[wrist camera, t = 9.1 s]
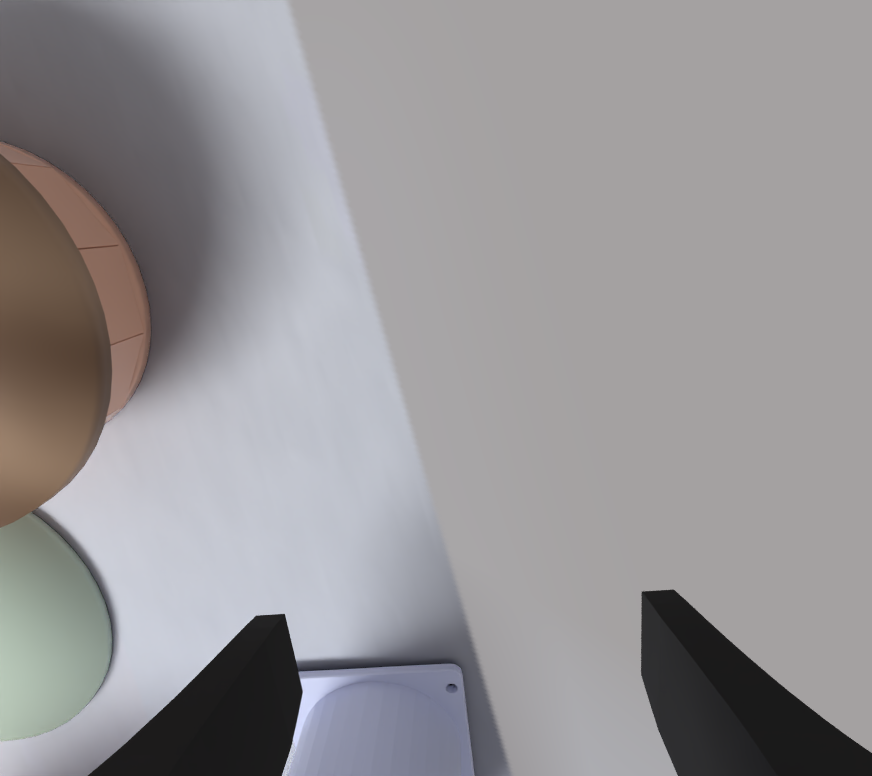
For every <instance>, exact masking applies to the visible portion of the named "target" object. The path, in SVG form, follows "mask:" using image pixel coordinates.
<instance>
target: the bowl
mask: <svg viewBox="0 0 872 776" xmlns="http://www.w3.org/2000/svg"><path fill="white" fill-rule="evenodd" d="M0 154H1V155H2V156H4V157H5V158H6V159H7V160H8V161H9V162H10V163H12V164H13V165H14V166H15V167H16V168H17V169H18V170H19V171H20V172H21V173H22V174H23V175H24V177H25V178H26V179H27V180H28V181H29V182H30V183H31V184H32V185H33V186H34V187H35V188H36V190H37V191H38V192H39V193H40V194H41V195H42V196H43V198H44V199H45V200H46V202H47V203H48V204H49V206H50V207H51V208H52V210H53V211H54V212H55V214H56V215H57V216H58V218H59V219H60V220H61V222H62V223H63V225H64V226H65V228H66V230H67V231H68V233H69V235H70V236H71V238H72V240H73V241H74V243H75V245H76V246H77V248H78V250H79V251H80V253H81V255H82V257H83V259H84V262H85V264H86V266H87V268H88V270H89V273H90V275H91V277H92V279H93V281H94V283H95V286H96V289H97V292H98V295H99V299H100V302H101V305H102V308H103V311H104V314H105V319H106V324H107V329H108V334H109V339H110V344H111V359H112V384H111V398H110V403H109V408H108V412H107V417H106V421H105V423H107V422H108V421H110V420H111V419H112V418H113V417H114V416H115V415H116V414H117V413H118V412H120V411H121V410H122V409H123V407H124V406H125V405H126V403H127V402H128V401H129V400H130V398H131V397H132V396H133V394H134V392H135V390H136V388H137V387H138V385H139V383H140V381H141V378H142V376H143V373H144V370H145V367H146V364H147V359H148V354H149V349H150V339H151V319H150V307H149V302H148V297H147V292H146V288H145V284H144V281H143V278H142V275H141V272H140V269H139V266H138V264H137V262H136V260H135V258H134V256H133V254H132V251H131V249H130V247H129V245H128V244H127V242H126V240H125V239H124V237H123V235H122V234H121V232H120V231H119V229H118V227H117V226H116V224H115V223H114V222H113V221H112V219H111V218H110V217H109V215H108V214H107V213H106V211H105V210H104V209H103V208H102V206H101V205H100V204H99V203H98V202H97V201H96V200H95V199H94V198H93V197H92V196H91V195H90V194H89V193H88V192H87V191H86V190H85V189H84V188H83V187H82V186H80V185H79V184H78V183H77V182H76V181H74V180H73V179H72V178H71V177H70V176H68V175H67V174H66V173H64V172H63V171H61V170H60V169H58V168H57V167H55V166H54V165H52V164H51V163H49V162H48V161H46V160H44V159H42V158H40V157H38V156H36V155H34V154H32V153H30V152H28V151H27V150H24V149H21V148H18V147H16V146H13V145H10V144H8V143H5V142H1V141H0Z"/></svg>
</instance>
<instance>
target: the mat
mask: <svg viewBox="0 0 872 776" xmlns="http://www.w3.org/2000/svg"><path fill="white" fill-rule="evenodd" d="M111 655H112V631H111V623H110V618H109V614H108V611H107V607H106V604H105V601H104V599H103V596H102V594H101V592H100V590H99V587H98V585H97V583H96V582H95V580H94V578H93V577H92V575H91V573H90V571H89V570H88V568H87V567H86V565H85V564H84V563H83V561H82V560H81V559H80V557H79V556H78V555H77V554H76V552H75V551H74V550H73V549H72V548H71V547H70V546H69V544H68V543H67V542H66V541H65V540H64V539H63V538H62V537H61V536H60V535H59V534H58V533H57V532H56V531H54V530H53V529H52V528H51V527H50V526H49V525H48V524H46V523H45V522H44V521H43V520H42V519H40V518H39V517H38V516H36V515H35V514H33V513H32V512H30V513H29V514H27V515H25V516H24V517H22V518H20V519H18V520H17V521H15V522H13V523H11V524H8V525H6V526H4V527H1V528H0V741H9V740H19V739H24V738H29V737H33V736H38V735H40V734H43V733H46V732H49V731H51V730H54V729H56V728H57V727H59V726H61V725H63V724H65V723H67V722H68V721H69V720H71V719H72V718H73V717H75V716H76V715H77V714H79V713H80V712H81V710H82V709H83V708H84V707H85V706H86V705H87V704H88V703H89V702H90V701H91V699H92V698H93V697H94V695H95V694H96V692H97V691H98V689H99V688H100V686H101V684H102V683H103V681H104V678H105V676H106V673H107V671H108V669H109V664H110V659H111Z"/></svg>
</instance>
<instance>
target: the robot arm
mask: <svg viewBox="0 0 872 776" xmlns="http://www.w3.org/2000/svg"><path fill="white" fill-rule="evenodd" d="M641 636H642V637H641V639H642V640H641V642H642V643H641V644H642V645H641V646H642V647H641V675H642V678H643V682H644V685H645V688H646V692H647V695H648V698H649V701H650V704H651V708H652V711H653V714H654V717H655V720H656V723H657V727H658V730H659V732H660V735H661V737H662V739H663V742H664V744H665V746H666V749H667V751H668V754H669V756H670V758H671V760H672V763H673V765H674V767H675V770H676V772H677V775H678V776H872V753H871V752H869V751H868V750H866V749H865V748H863V747H862V746H861V745H859V744H858V743H856V742H855V741H854V740H852V739H851V738H849V737H848V736H846V735H845V734H844V733H842V732H841V731H840V730H838V729H837V728H835V727H834V726H833V725H831V724H830V723H829V722H827V721H826V720H825V719H823V718H822V717H821V716H820V715H818V714H817V713H816V712H814V711H813V710H812V709H810V708H809V707H808V706H807V705H805V704H804V703H803V702H802V701H800V700H799V699H798V698H796V697H795V696H794V695H793V694H791V693H790V692H789V691H787V689H785V688H784V687H783V686H782V685H780V684H779V683H778V682H777V681H776V680H774V679H773V678H772V677H771V676H770V675H768V674H767V673H766V672H765V671H764V670H763V669H761V668H760V667H759V666H758V665H757V664H756V663H754V662H753V661H752V660H751V659H750V658H748V657H747V656H746V655H745V654H744V653H743V652H742V651H741V650H739V649H738V648H737V647H736V646H735V645H734V644H733V643H732V642H730V641H729V640H728V639H727V638H726V637H725V636H724V635H723V634H722V633H720V632H719V631H718V630H717V629H716V628H715V627H714V626H713V625H712V624H711V623H709V622H708V621H707V620H706V619H705V618H704V617H703V616H702V615H701V614H700V613H699V612H698V611H696V610H695V609H694V608H693V607H692V606H691V605H690V604H689V603H688V602H687V601H686V600H685V599H684V598H682V597H681V596H680V595H679V594H678V593H677V592H676V591H675V590H661V591H645V592H642V634H641ZM448 684H455V685H453V686H451V685H448ZM292 741H293V742H294V746H295V753H294V757H293V760H292V763H291V766H290V770H289V773H288V776H475V774H474V766H473V757H472V749H471V741H470V732H469V724H468V716H467V708H466V699H465V691H464V683H463V674H462V670H461V668H460V667H459V666H457V665H455V664H431V665H413V666H394V667H376V668H357V669H339V670H321V671H302V672H298V668H297V664H296V660H295V656H294V651H293V647H292V643H291V639H290V634H289V630H288V626H287V622H286V617H285V614H276V615H260V616H255V617H254V618H253V619H252V620H251V621H250V622H249V623H248V624H247V625H246V626H245V627H244V628H243V629H242V630H241V631H240V632H239V633H238V634H237V635H236V636H235V637H234V638H233V639H232V640H231V641H230V642H229V644H228V645H227V646H226V647H225V648H224V649H223V650H222V651H221V652H220V653H219V654H218V655H217V656H216V657H215V658H214V659H213V660H212V661H211V662H210V663H209V664H208V665H207V666H206V667H205V668H204V669H203V670H202V671H201V672H200V673H199V674H198V675H197V676H196V677H195V678H194V679H193V680H192V681H191V682H190V683H189V684H188V685H187V686H186V687H185V688H184V689H183V690H182V691H181V692H180V693H179V694H178V695H177V696H176V697H175V698H174V699H173V700H172V701H171V702H170V703H169V704H168V705H167V706H165V707H164V708H163V709H162V710H161V711H160V712H159V713H158V714H157V715H156V716H155V717H154V718H153V719H151V720H150V721H149V722H148V723H147V724H146V725H145V726H144V727H143V728H142V729H141V730H140V731H139V732H138V733H136V734H135V735H134V736H133V737H132V738H131V739H130V740H129V741H128V742H127V743H126V744H124V745H123V746H122V747H121V748H120V749H119V750H118V751H117V752H115V753H114V754H113V755H112V756H111V757H110V758H108V759H107V760H106V761H105V762H104V763H103V764H101V765H100V766H99V767H98V768H97V769H95V770H94V771H93V772H92V773H90V774H89V775H88V776H282V773H283V770H284V767H285V764H286V761H287V758H288V755H289V752H290V749H291V745H292Z"/></svg>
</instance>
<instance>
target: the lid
mask: <svg viewBox="0 0 872 776" xmlns="http://www.w3.org/2000/svg"><path fill="white" fill-rule="evenodd" d="M111 384H112V359H111V344H110V339H109V334H108V329H107V324H106V319H105V314H104V311H103V308H102V305H101V302H100V299H99V295H98V292H97V289H96V286H95V283H94V281H93V279H92V277H91V275H90V273H89V270H88V268H87V266H86V264H85V262H84V259H83V257H82V255H81V253H80V251H79V250H78V248H77V246H76V245H75V243H74V241H73V240H72V238H71V236H70V235H69V233H68V231H67V230H66V228H65V226H64V225H63V223H62V222H61V220H60V219H59V218H58V216H57V215H56V214H55V212H54V211H53V210H52V208H51V207H50V206H49V204H48V203H47V202H46V200H45V199H44V198H43V196H42V195H41V194H40V193H39V192H38V191H37V190H36V188H35V187H34V186H33V185H32V184H31V183H30V182H29V181H28V180H27V179H26V178H25V177H24V175H23V174H22V173H21V172H20V171H19V170H18V169H17V168H16V167H15V166H14V165H13V164H12V163H10V162H9V161H8V160H7V159H6V158H5V157H4V156H2V155H1V154H0V528H1V527H4V526H6V525H8V524H11V523H13V522H15V521H17V520H18V519H20V518H22V517H24V516H25V515H27V514H29V513H30V512H32V511H34V510H35V509H36V508H38V507H39V506H41V505H42V504H44V503H45V502H47V501H48V500H49V499H51V498H52V497H54V496H55V495H56V494H57V493H58V492H59V491H61V490H62V489H63V488H64V487H65V486H67V485H68V484H69V483H70V482H71V481H72V480H73V478H74V477H75V476H76V475H77V474H78V473H79V471H80V470H81V469H82V468H83V467H84V465H85V464H86V462H87V460H88V459H89V457H90V455H91V454H92V452H93V450H94V449H95V447H96V445H97V442H98V440H99V437H100V435H101V432H102V430H103V427H104V425H105V421H106V417H107V412H108V408H109V403H110V398H111Z"/></svg>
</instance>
